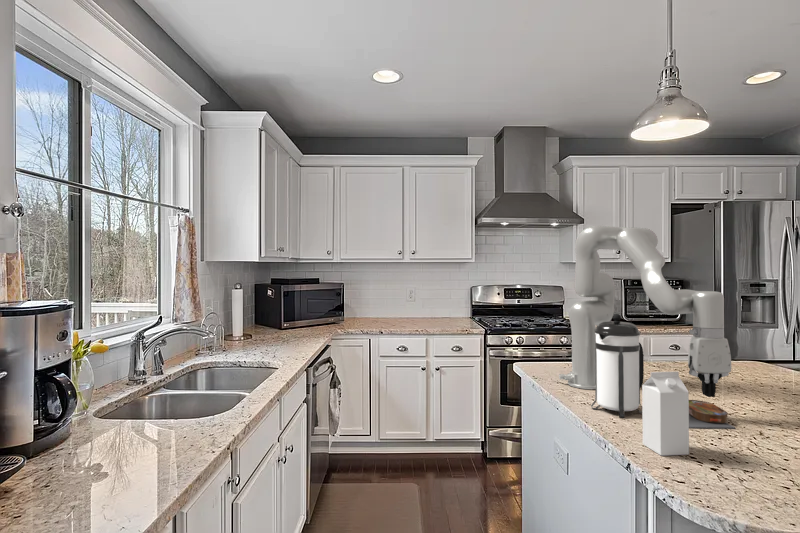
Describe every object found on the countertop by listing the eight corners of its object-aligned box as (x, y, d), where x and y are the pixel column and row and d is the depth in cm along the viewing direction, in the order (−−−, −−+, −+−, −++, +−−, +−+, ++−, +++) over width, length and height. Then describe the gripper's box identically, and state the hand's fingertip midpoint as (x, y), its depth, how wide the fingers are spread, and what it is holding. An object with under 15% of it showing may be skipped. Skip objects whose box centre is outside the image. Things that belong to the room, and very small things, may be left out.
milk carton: (642, 444, 115) (641, 369, 115) (669, 443, 116) (668, 368, 116) (660, 456, 108) (660, 375, 108) (689, 455, 108) (688, 375, 108)
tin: (733, 415, 127) (700, 411, 129) (732, 427, 127) (699, 423, 129) (708, 400, 142) (678, 397, 143) (707, 410, 142) (677, 407, 143)
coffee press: (652, 421, 132) (652, 317, 132) (592, 415, 137) (591, 315, 137) (643, 404, 148) (642, 311, 148) (589, 399, 153) (589, 310, 153)
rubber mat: (688, 428, 126) (688, 426, 126) (655, 408, 144) (655, 406, 144) (735, 428, 125) (735, 427, 125) (696, 408, 143) (696, 407, 143)
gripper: (689, 335, 131) (690, 399, 131) (743, 335, 130) (744, 399, 130) (675, 331, 139) (675, 392, 139) (726, 331, 138) (726, 392, 138)
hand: (708, 395), depth 134 cm, fingers closed
